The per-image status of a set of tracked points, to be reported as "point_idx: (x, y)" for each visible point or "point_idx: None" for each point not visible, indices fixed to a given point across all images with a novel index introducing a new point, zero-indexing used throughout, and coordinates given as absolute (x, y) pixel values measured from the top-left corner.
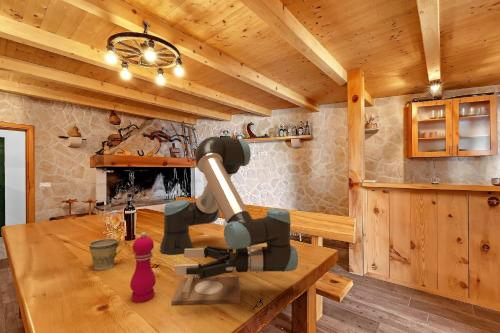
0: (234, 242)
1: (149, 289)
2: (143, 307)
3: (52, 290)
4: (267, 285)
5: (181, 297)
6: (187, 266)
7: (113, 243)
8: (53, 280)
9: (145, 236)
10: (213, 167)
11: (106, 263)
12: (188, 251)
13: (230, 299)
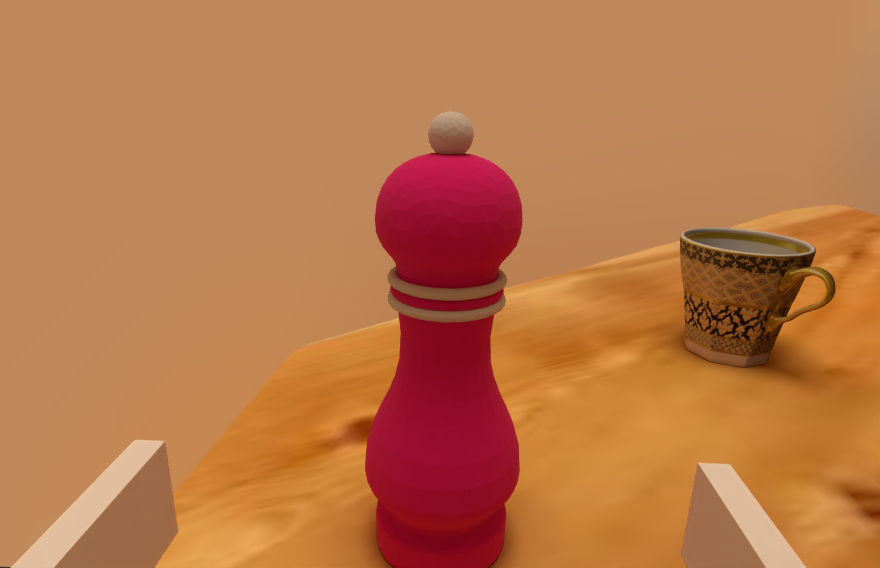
0: None
1: (395, 514)
2: (315, 563)
3: (510, 316)
4: None
5: None
6: (32, 558)
7: (747, 254)
8: (574, 303)
9: (440, 145)
10: None
11: (707, 334)
12: (715, 526)
13: None
